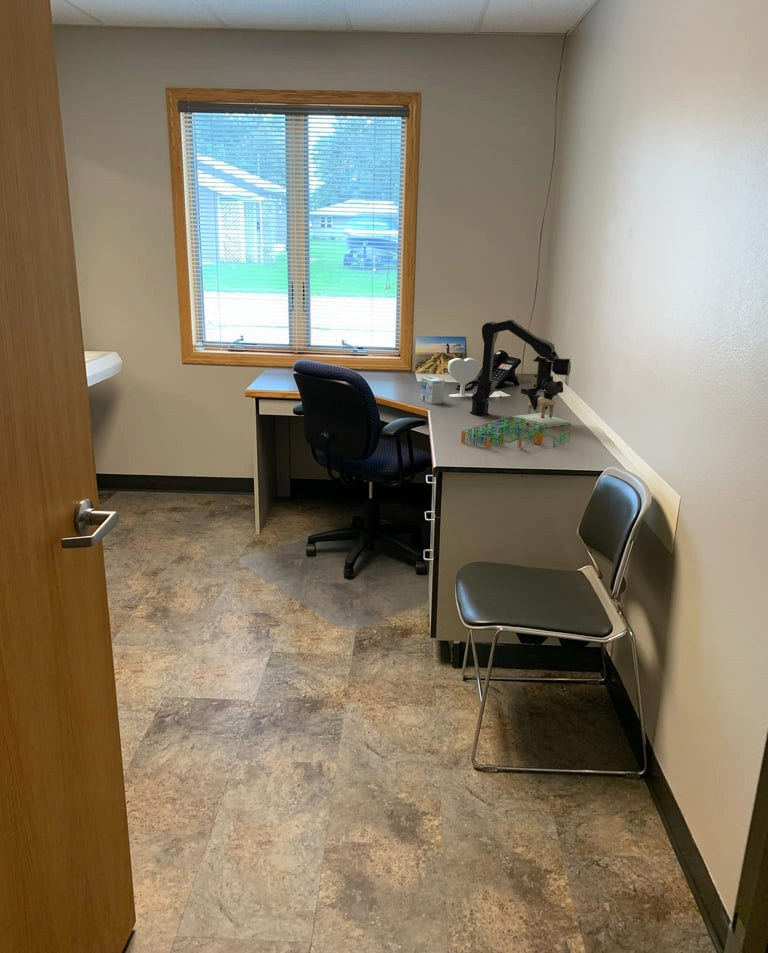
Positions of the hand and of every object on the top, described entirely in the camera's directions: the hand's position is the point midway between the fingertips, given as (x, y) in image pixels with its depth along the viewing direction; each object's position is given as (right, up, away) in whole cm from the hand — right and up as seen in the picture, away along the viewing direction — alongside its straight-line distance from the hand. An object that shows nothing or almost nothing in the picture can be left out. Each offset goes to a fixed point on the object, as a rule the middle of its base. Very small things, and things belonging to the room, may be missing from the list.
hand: (540, 409), depth 315 cm
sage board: (0, -5, +2) cm, 5 cm away
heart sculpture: (-28, +11, +49) cm, 57 cm away
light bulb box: (-44, +7, +34) cm, 56 cm away
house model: (-15, -15, -29) cm, 36 cm away
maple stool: (0, -2, +1) cm, 2 cm away
